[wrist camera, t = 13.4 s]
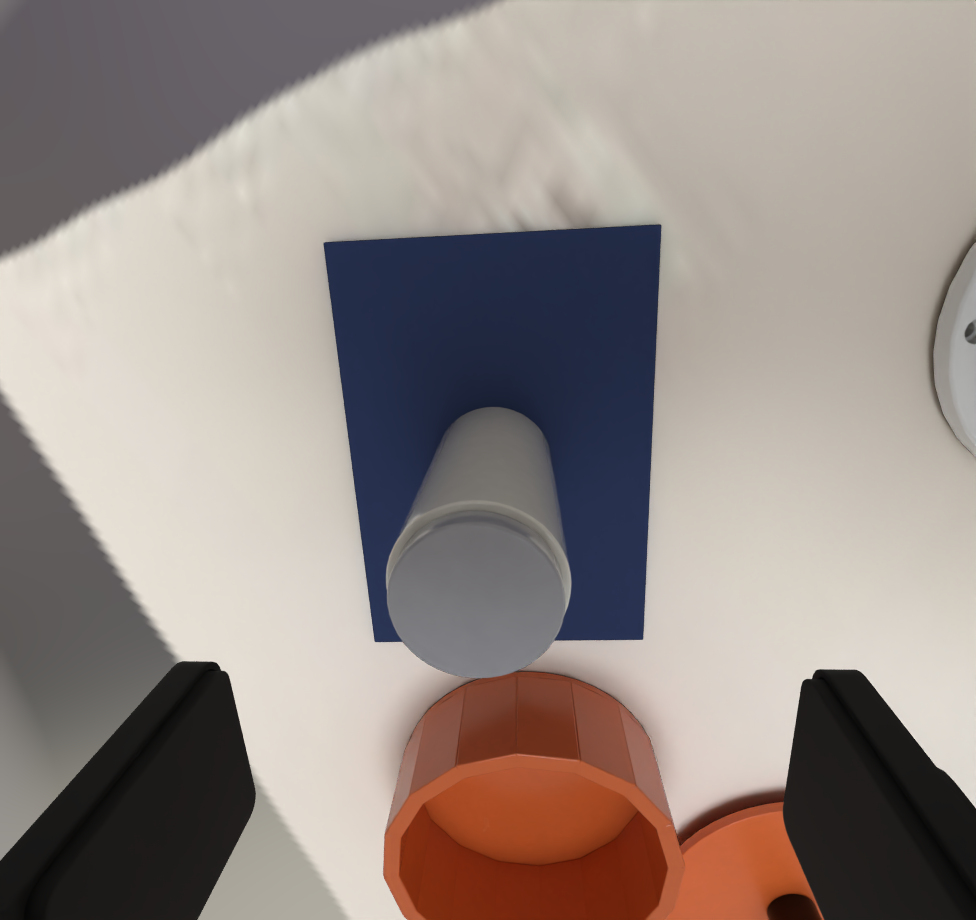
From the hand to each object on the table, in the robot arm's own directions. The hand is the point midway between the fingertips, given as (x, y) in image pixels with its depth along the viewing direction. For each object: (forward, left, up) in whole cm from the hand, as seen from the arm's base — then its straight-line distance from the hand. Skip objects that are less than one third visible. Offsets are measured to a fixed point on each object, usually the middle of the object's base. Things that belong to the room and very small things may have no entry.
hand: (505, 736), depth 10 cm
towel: (0, 0, -15) cm, 15 cm away
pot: (+14, +9, -15) cm, 22 cm away
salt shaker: (+1, -1, -15) cm, 14 cm away
